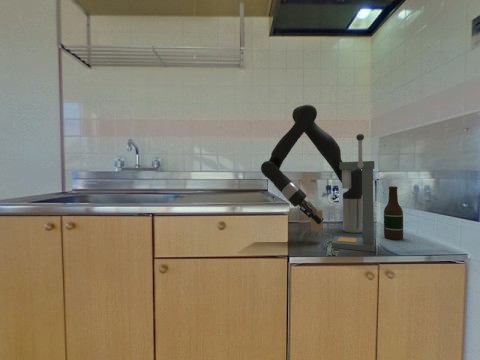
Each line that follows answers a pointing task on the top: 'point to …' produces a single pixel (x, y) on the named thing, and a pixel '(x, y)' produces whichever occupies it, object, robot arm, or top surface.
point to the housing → (314, 225)
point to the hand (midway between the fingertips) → (321, 221)
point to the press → (367, 203)
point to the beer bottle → (393, 217)
